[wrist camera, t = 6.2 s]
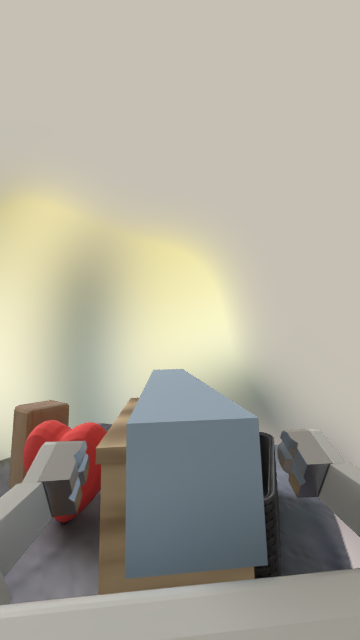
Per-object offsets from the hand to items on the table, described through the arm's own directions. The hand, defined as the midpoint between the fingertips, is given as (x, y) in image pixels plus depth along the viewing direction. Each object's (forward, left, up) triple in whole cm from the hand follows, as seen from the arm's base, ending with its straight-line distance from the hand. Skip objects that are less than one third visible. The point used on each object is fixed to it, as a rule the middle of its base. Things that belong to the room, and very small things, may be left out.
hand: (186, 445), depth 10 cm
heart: (+20, +43, -28) cm, 56 cm away
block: (+23, +61, -28) cm, 71 cm away
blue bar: (+8, +6, -2) cm, 10 cm away
